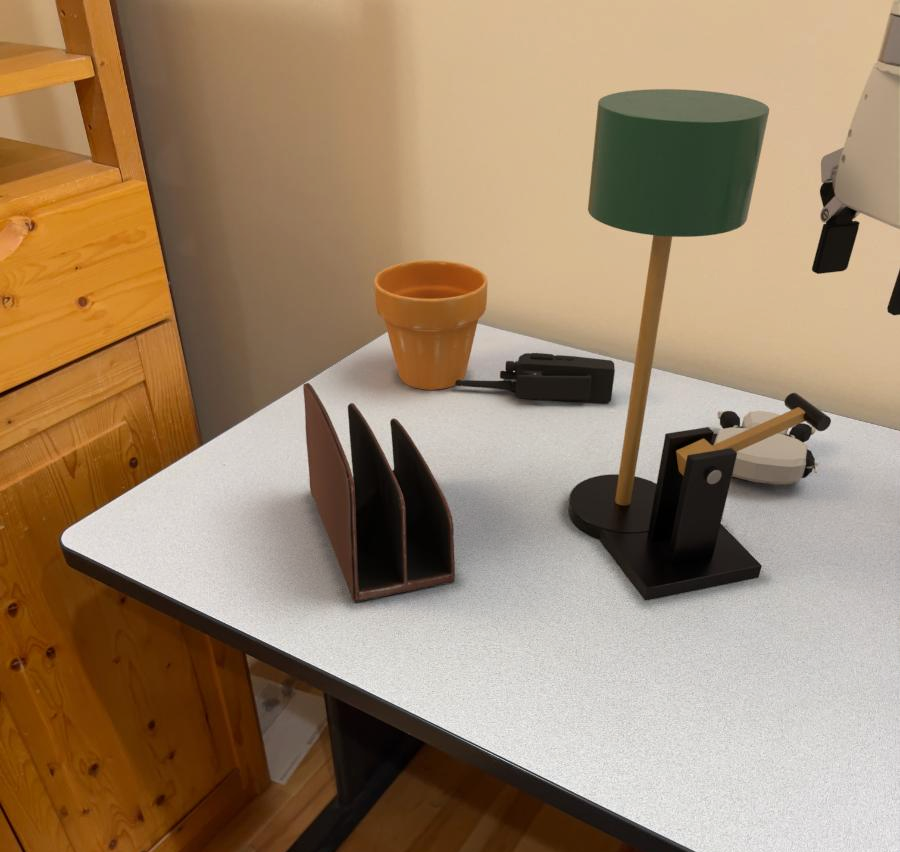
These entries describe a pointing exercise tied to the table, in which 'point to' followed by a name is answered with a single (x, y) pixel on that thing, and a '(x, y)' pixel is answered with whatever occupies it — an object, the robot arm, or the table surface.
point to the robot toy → (769, 450)
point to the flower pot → (431, 318)
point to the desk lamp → (662, 235)
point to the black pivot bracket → (685, 527)
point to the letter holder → (378, 507)
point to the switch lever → (762, 429)
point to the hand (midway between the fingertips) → (865, 290)
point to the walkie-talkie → (554, 378)
